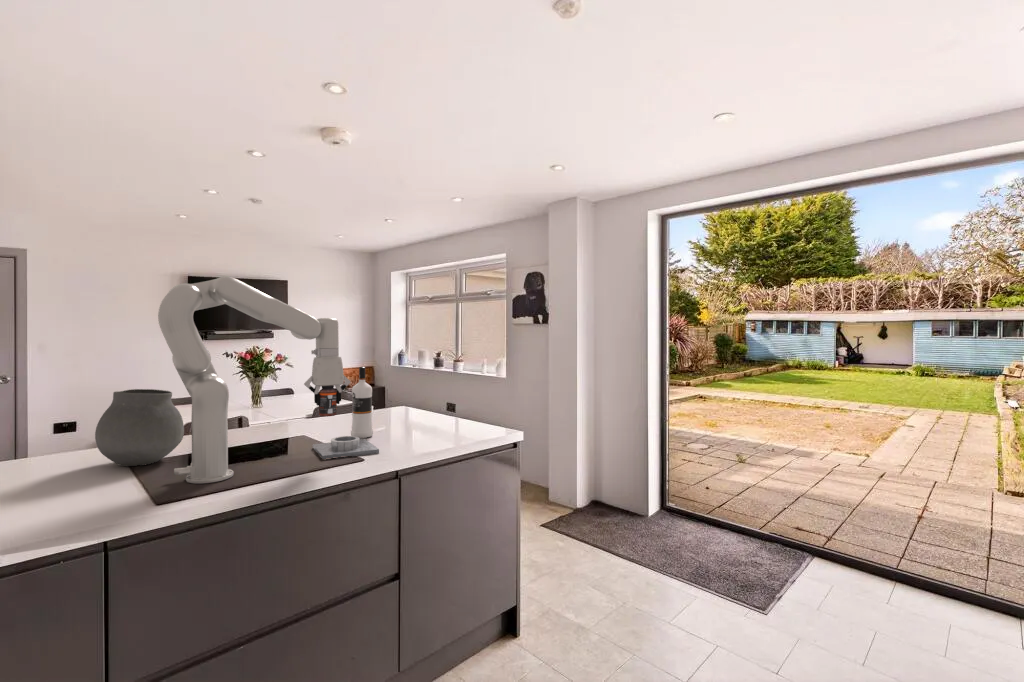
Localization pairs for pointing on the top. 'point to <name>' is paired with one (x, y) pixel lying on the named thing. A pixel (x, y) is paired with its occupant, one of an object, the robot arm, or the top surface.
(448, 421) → the top surface
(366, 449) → the duct plate
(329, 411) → the supplement bottle
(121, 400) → the ceramic pot
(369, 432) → the vodka
